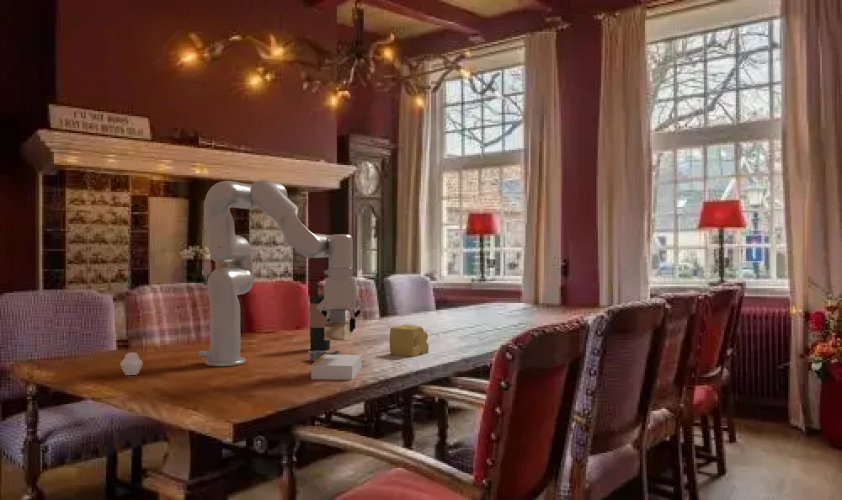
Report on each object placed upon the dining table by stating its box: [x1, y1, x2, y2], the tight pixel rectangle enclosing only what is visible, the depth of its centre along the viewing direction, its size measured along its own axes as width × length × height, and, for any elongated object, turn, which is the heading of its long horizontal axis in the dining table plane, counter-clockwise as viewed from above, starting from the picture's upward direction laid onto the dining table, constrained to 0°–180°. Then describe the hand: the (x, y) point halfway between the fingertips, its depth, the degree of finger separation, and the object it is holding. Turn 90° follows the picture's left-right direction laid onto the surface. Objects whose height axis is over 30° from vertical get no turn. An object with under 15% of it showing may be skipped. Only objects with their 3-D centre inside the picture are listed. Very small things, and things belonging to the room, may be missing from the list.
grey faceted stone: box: [120, 351, 144, 376], centre depth 193 cm, size 6×6×7 cm
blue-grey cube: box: [330, 310, 346, 321], centre depth 197 cm, size 4×4×4 cm
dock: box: [310, 354, 363, 381], centre depth 197 cm, size 12×19×4 cm, turn 177°
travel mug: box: [309, 295, 331, 352], centre depth 243 cm, size 8×8×20 cm
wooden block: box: [324, 320, 354, 341], centre depth 198 cm, size 6×15×6 cm, turn 177°
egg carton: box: [307, 350, 340, 363], centre depth 218 cm, size 11×8×4 cm
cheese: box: [389, 323, 430, 358], centre depth 233 cm, size 10×11×10 cm
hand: (341, 330), depth 202 cm, fingers closed on wooden block, 6 cm apart
